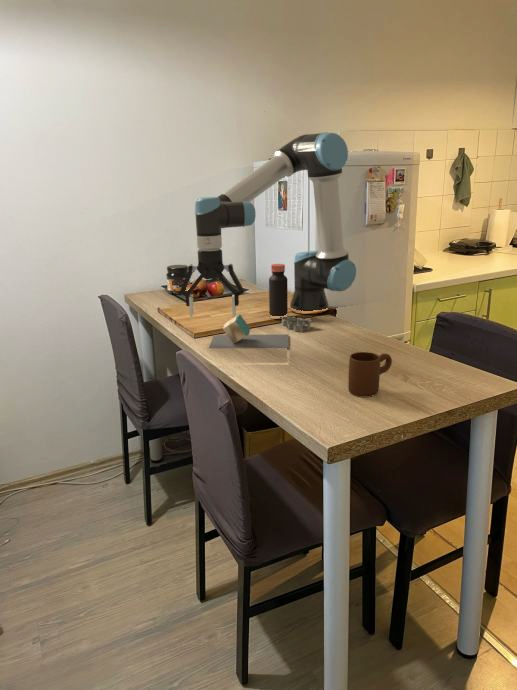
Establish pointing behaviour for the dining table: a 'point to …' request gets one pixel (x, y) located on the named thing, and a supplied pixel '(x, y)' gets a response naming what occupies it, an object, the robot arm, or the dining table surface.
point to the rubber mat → (251, 341)
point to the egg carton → (291, 323)
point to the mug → (366, 372)
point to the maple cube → (236, 329)
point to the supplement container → (176, 277)
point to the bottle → (278, 291)
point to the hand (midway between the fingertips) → (213, 315)
